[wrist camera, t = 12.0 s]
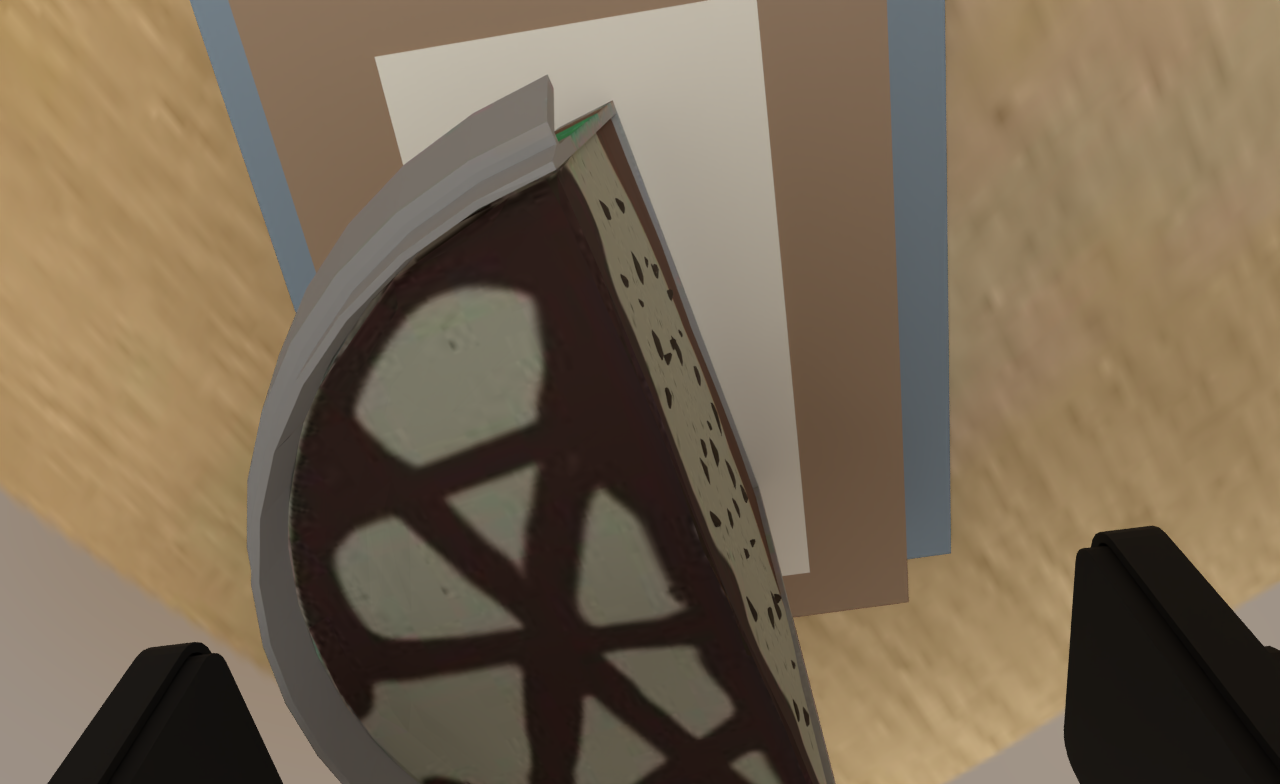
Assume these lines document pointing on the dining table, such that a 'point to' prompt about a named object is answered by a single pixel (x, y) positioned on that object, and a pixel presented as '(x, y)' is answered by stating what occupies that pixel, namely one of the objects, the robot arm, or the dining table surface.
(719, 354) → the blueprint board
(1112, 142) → the dining table surface
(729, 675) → the food container
